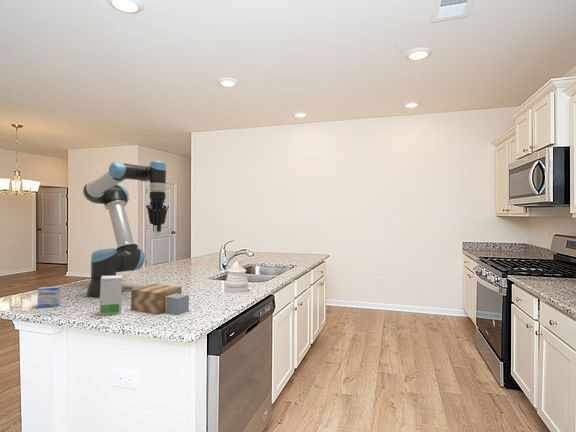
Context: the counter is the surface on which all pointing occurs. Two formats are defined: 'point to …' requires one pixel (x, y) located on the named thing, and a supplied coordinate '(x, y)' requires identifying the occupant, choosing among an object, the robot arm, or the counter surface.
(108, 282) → the skincare box
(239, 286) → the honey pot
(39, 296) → the medicine box
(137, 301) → the oak plinth
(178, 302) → the slate-blue block
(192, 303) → the counter surface
